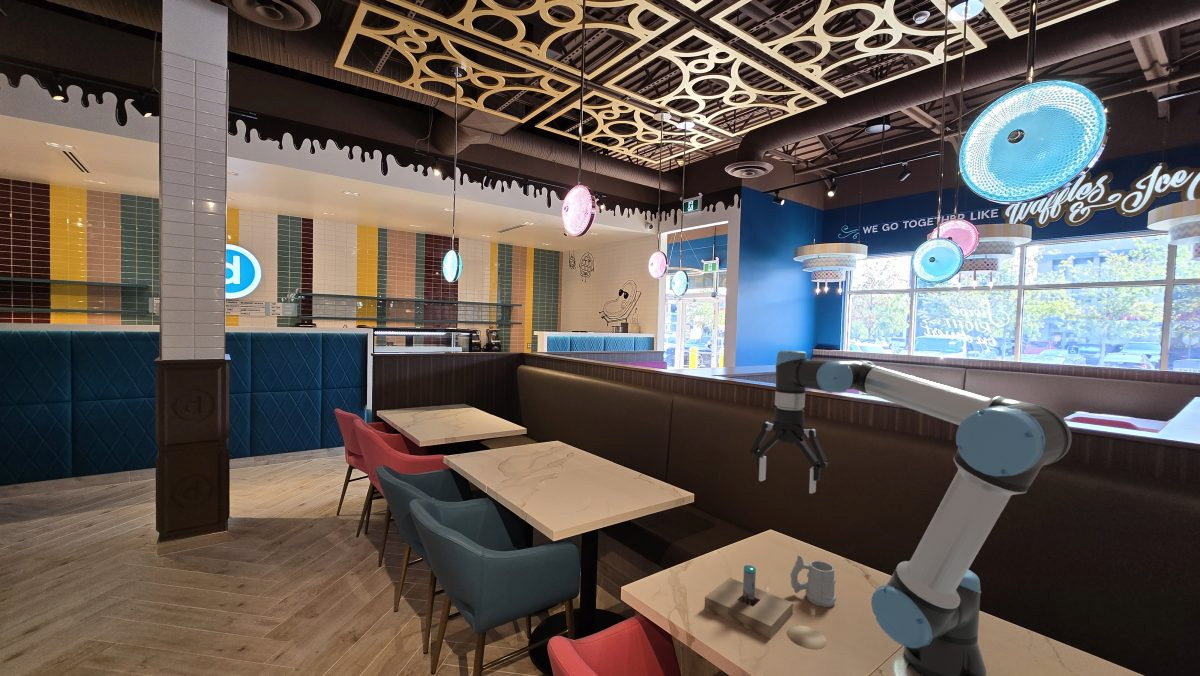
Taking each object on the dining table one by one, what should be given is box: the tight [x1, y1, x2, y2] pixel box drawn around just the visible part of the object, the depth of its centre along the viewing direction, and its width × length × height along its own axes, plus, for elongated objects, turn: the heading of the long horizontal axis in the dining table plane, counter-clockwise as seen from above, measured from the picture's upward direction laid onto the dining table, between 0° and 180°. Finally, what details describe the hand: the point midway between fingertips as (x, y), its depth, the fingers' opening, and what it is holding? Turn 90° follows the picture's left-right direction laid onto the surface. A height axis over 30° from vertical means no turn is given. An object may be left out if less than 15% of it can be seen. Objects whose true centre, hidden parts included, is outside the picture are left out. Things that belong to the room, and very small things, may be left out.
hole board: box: [704, 577, 794, 640], centre depth 129 cm, size 18×14×4 cm
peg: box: [742, 564, 757, 607], centre depth 129 cm, size 3×3×12 cm
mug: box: [790, 553, 837, 608], centre depth 136 cm, size 8×12×12 cm, turn 73°
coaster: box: [786, 625, 828, 650], centre depth 119 cm, size 9×9×1 cm
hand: (786, 486), depth 132 cm, fingers open, 13 cm apart
